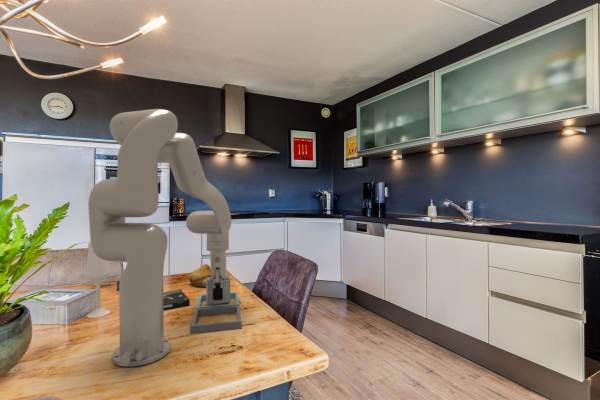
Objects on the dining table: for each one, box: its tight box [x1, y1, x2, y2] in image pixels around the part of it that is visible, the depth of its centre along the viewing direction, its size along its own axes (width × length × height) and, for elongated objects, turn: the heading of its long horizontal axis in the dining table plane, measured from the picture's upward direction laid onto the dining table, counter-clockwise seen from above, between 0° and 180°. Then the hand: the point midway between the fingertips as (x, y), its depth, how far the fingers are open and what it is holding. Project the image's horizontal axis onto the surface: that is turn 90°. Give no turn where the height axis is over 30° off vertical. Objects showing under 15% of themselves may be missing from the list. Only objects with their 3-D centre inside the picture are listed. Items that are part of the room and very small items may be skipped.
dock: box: [189, 291, 242, 334], centre depth 102 cm, size 29×14×2 cm, turn 13°
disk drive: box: [163, 289, 191, 311], centre depth 112 cm, size 10×3×15 cm
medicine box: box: [205, 275, 231, 306], centre depth 109 cm, size 8×4×9 cm, turn 111°
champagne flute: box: [85, 239, 111, 319], centre depth 102 cm, size 7×7×24 cm
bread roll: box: [188, 263, 211, 288], centre depth 135 cm, size 13×10×8 cm
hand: (218, 296), depth 109 cm, fingers closed on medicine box, 4 cm apart
